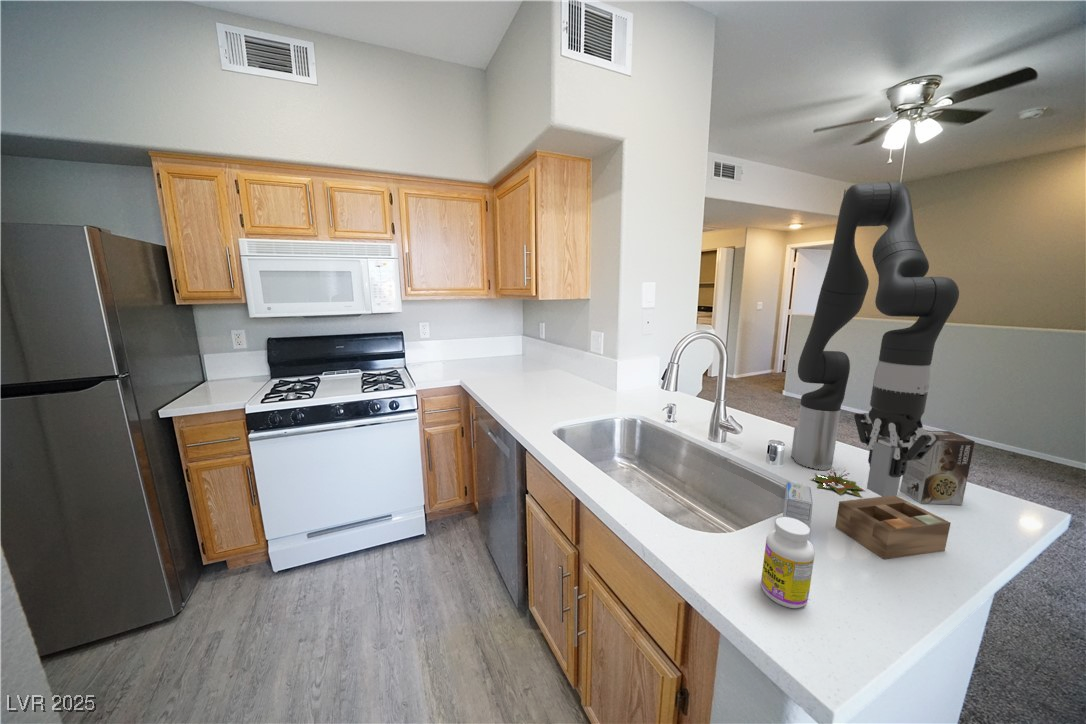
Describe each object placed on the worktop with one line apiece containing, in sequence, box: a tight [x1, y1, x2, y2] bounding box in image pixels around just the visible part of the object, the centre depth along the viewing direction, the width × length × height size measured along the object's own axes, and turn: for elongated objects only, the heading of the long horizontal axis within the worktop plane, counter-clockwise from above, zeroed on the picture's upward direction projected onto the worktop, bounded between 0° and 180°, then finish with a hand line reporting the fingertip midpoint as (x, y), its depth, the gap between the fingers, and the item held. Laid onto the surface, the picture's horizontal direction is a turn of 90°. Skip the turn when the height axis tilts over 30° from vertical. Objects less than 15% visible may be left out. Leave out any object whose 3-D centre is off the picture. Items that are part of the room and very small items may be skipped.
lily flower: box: [812, 468, 866, 498], centre depth 97 cm, size 12×12×5 cm
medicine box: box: [782, 481, 813, 541], centre depth 79 cm, size 8×4×9 cm, turn 148°
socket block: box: [834, 495, 952, 560], centre depth 76 cm, size 10×14×6 cm
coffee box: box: [899, 430, 976, 506], centre depth 90 cm, size 9×6×16 cm
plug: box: [866, 439, 901, 497], centre depth 73 cm, size 3×3×11 cm
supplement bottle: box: [760, 516, 816, 609], centre depth 61 cm, size 7×7×13 cm
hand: (885, 471), depth 73 cm, fingers closed on plug, 3 cm apart
